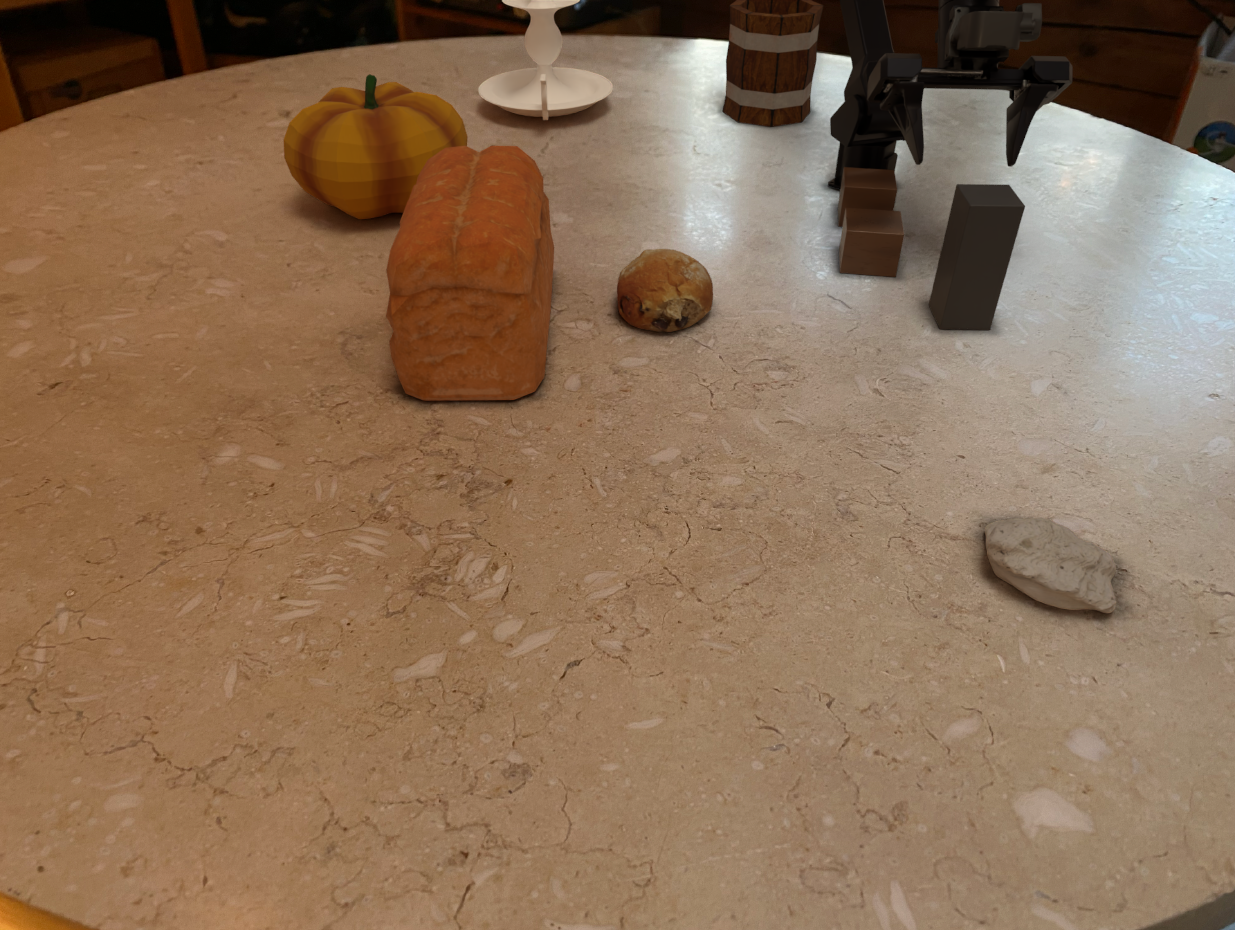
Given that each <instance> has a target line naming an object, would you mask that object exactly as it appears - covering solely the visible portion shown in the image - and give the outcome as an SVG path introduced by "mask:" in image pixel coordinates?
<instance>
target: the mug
mask: <svg viewBox="0 0 1235 930" xmlns="http://www.w3.org/2000/svg"><path fill="white" fill-rule="evenodd" d="M728 7H729V35H728V45H727V52H726V57H725V75H726V76H725V77H726V79H725V80H726V81H725V96H724V101H723V106H722V113H723V114H725V115H726V116H728V117H729V118H731V119H732V120H734V121H735V122H737V123H739V124H740V123H741V124H746V125H747V124H748V125H754V126H762V127H767V128H768V127H769V128H773V127H780V126H788V125H794V124H801V123H803V122H804V120H805V119H806V118H807V117H808V116H809V114H810V113H811V107H812V106H811V105H812V104H811V102H812V101H811V99H812V98H811V96H812V87H813V79H814V75H815V69H816V66H817V65H816V64H817V58H818V57H817V55H818V37H819V29H820V22H821V17H822V14H823V10H824V5H823V4H821V3H819V2H816V1H813V0H735V1H733V2H732V3H731V4H730V5H728Z"/></svg>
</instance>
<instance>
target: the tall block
mask: <svg viewBox="0 0 1235 930" xmlns="http://www.w3.org/2000/svg"><path fill="white" fill-rule="evenodd" d="M1025 208H1026V205H1025V204H1024V203H1023V201H1022V200H1021V198H1020V197H1019V196H1018V195H1017V193H1016V192H1015V191H1014V189H1013V188H1012V186H1011V184H994V183H993V184H986V183H985V184H980V183H976V184H973V183H971V184H970V183H960V184H959V183H957V184H956V185H955V189H954V194H953V198H952V202H951V207H950V211H949V215H948V219H947V223H946V228H945V232H944V236H943V240H942V245H941V249H940V253H939V258H938V262H937V267H936V271H935V275H934V278H933V279H934V280H933V284H932V289H931V292H930V297H929V302H928V307H929V309H930V311H931V313H932V316H933V317H934V319H935V322H936V324H937V326H938V328H939V330H961V331H964V330H965V331H969V330H970V331H990V330H991V328H992V324H993V321H994V319H995V318H994V317H995V314H996V311H997V307H998V303H999V301H1000V296H1001V294H1002V289H1003V287H1004V282H1005V279H1006V275H1007V272H1008V268H1009V265H1010V261H1011V258H1012V254H1013V252H1014V251H1013V250H1014V247H1015V244H1016V240H1017V237H1018V233H1019V230H1020V226H1021V223H1022V219H1023V215H1024V212H1025Z"/></svg>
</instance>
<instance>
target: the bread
mask: <svg viewBox="0 0 1235 930" xmlns="http://www.w3.org/2000/svg"><path fill="white" fill-rule="evenodd" d="M544 191H545V190H544V176H543V174H542V172H541V170H540V168H539V166H538V164H537V162H536V160H535V159H534V158H533V157H531V156H530V155H529V154H528V153H527V152H526V151H524V150H523V149H521V148H520V147H519V146H518V145H489V146H488V147H486V148H485V149H482V150H480V151H478V150H475V149H473V148H471V147H469V146H468V145H467V146H458V147H449V148H444V149H443V150H442V151H440V152H439V153H437V154H436V155H434V156H433V157H431V158H430V159H428V161H427V162H426V164H425V165H424V167H423V169H422V170H421V172H420V174H419V176H418V178H417V182H416V184H415V185H414V187H413V189H412V192H411V195H410V198H409V200H408V202H407V204H406V207H405V210H404V212H403V213H402V215H401V218H400V220H399V229H398V231H397V233H396V236H395V238H394V240H393V242H392V245H391V247H390V249H389V255H388V260H387V265H386V270H385V271H386V278H387V283H388V288H389V295H388V303H387V308H386V313H385V317H386V319H387V321H388V323H389V325H390V327H391V329H392V330H393V331H392V333H391V335H390V339H389V350H390V352H389V353H390V357H391V361H392V363H393V366H394V369H395V372H396V374H397V377H398V380H399V382H400V384H401V387H402V389H403V391H404V393H405V394H406V395H409V396H411V397H413V398H416V399H418V400H422V401H515V400H517V399H521V398H522V397H524V396H528V395H529V394H532V393H535V392H536V391H537V389H538V388H539V386H540V385H541V382H542V381H543V380H544V378H545V376H546V364H547V363H546V361H547V351H548V350H547V349H548V340H549V330H550V319H551V310H552V295H553V294H552V293H553V279H554V263H555V261H554V260H555V243H554V239H553V235H552V227H551V226H552V225H551V214H550V199H549V197H548V196H547V194H546V193H545V192H544Z"/></svg>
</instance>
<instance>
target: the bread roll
mask: <svg viewBox="0 0 1235 930" xmlns="http://www.w3.org/2000/svg"><path fill="white" fill-rule="evenodd" d="M617 279H618V280H617V285H616V299H617V308H618V313H619V315H620V316H621V317H622V318H623V320H624V321H625V322H627V324H628V325H631V326H632V327H634V328H637V329H642V330H646V331H650V332H651V331H652V332H656V333H661V332H665V333H666V332H667V333H671V332H676V331H681V330H684V329H687V328H690V327H692V326H693V325H695V324H696V323H698V322H699V321H701V320H703V319H704V318H705V317H706V316H707V314H709V312H711V310H712V306H713V301H714V283H713V280H712V277H711V275H710V273H709V271H708V269H707V268H706V267H705V265H703V264H702V263H701V262H700V261H699V260H697V259H696V258H694V257H692V256H690V255H689V254H686V253H685V252H683V251H681V250H680V251H679V250H676V249H670V248H655V249H652V248H651V249H643V250H642V252H641V253H640V255H638V256H636V257H635V258H634V259H633V260H632V261H630V263H628V264H627V265H626V266H624V267H623V269H622V270H621V271H620V272H619V275H618V278H617Z"/></svg>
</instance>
